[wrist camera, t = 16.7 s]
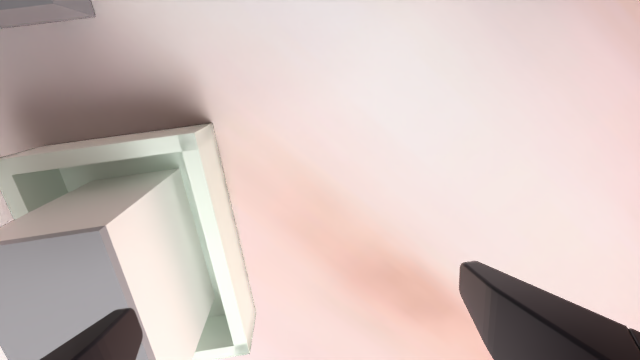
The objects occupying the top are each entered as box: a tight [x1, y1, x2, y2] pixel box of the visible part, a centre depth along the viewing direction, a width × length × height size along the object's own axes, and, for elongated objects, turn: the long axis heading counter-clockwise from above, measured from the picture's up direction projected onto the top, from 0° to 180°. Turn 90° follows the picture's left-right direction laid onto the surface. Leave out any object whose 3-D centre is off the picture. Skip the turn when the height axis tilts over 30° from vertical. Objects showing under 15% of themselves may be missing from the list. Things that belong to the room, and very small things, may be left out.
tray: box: [0, 123, 256, 360], centre depth 19 cm, size 10×14×4 cm
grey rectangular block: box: [0, 168, 215, 360], centre depth 16 cm, size 5×9×8 cm, turn 7°
